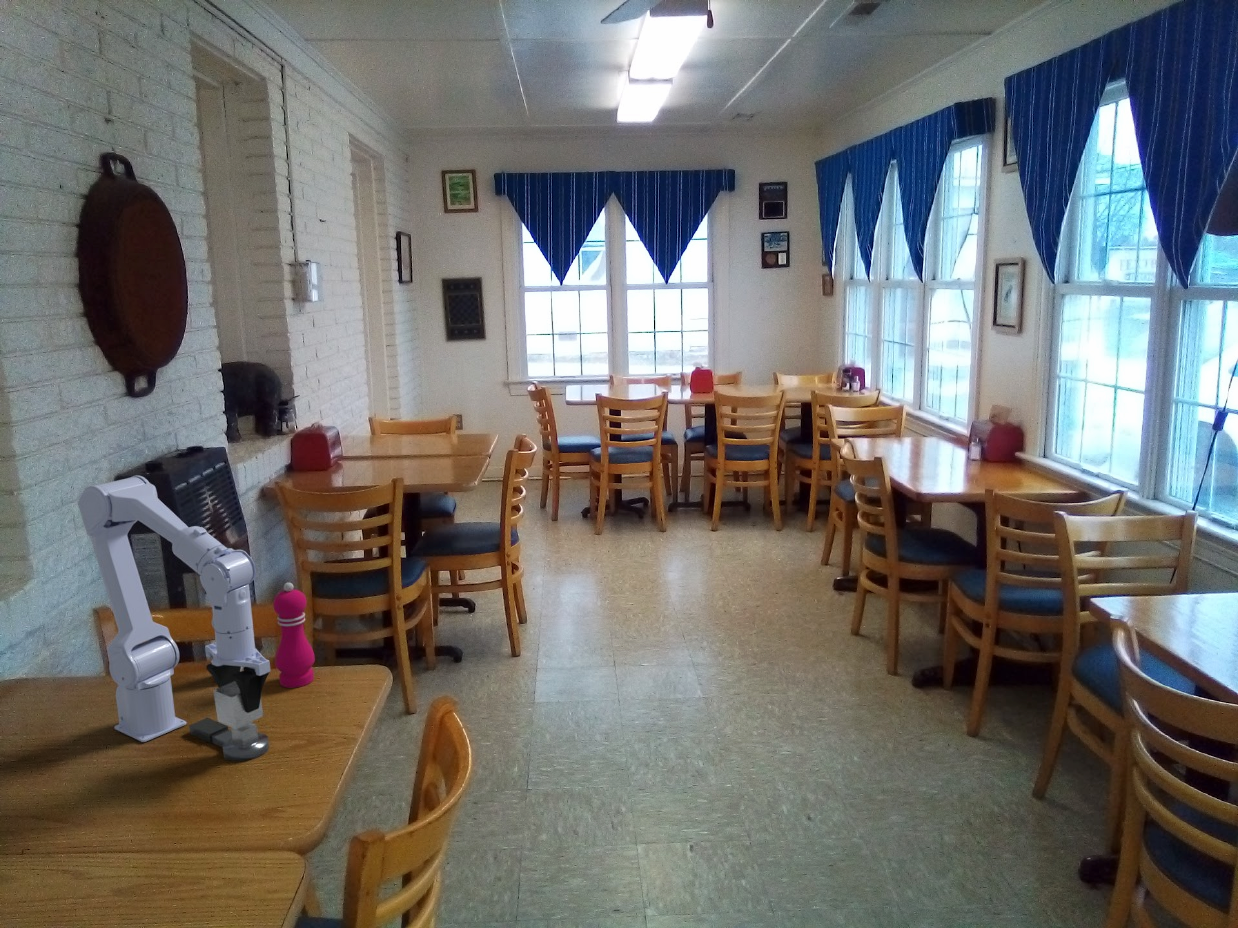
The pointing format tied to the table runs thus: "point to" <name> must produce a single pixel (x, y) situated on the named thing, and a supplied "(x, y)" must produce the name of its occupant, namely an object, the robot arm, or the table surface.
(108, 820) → the table surface
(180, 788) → the table surface
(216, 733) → the ratchet
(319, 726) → the table surface
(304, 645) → the pepper mill
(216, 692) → the metal cube
